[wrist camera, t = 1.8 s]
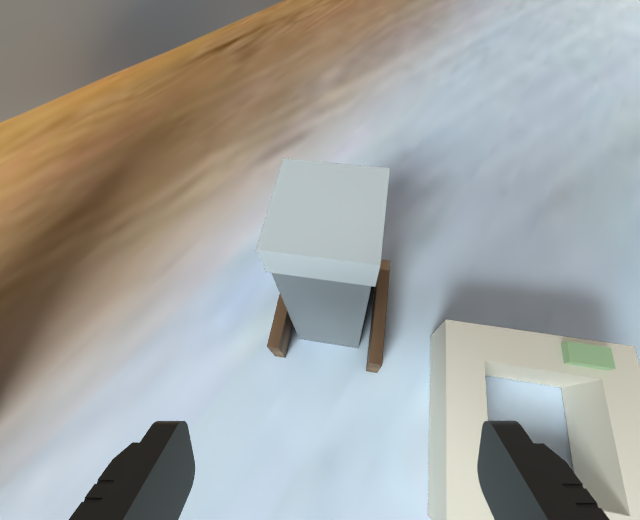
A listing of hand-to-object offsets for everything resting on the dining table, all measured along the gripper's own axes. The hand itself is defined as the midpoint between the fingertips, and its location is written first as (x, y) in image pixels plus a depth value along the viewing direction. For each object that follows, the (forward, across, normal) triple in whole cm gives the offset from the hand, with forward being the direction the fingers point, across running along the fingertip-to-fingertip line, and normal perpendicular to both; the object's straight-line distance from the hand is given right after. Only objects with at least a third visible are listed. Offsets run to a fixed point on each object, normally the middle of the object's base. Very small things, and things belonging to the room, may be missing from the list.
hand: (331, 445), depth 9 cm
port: (+11, -12, +10) cm, 19 cm away
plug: (+16, 0, +4) cm, 17 cm away
